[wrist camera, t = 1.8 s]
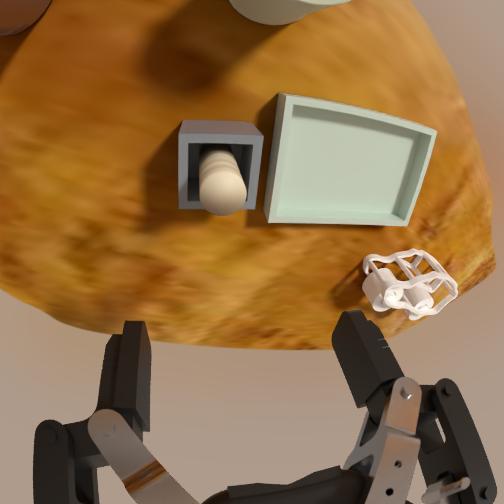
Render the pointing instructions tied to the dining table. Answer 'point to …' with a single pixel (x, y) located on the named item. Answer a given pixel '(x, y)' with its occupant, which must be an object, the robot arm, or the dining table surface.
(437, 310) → the white wireframe roller cage
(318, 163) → the tray
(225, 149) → the dowel pin
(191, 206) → the deep cup
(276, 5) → the can
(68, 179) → the dining table surface
